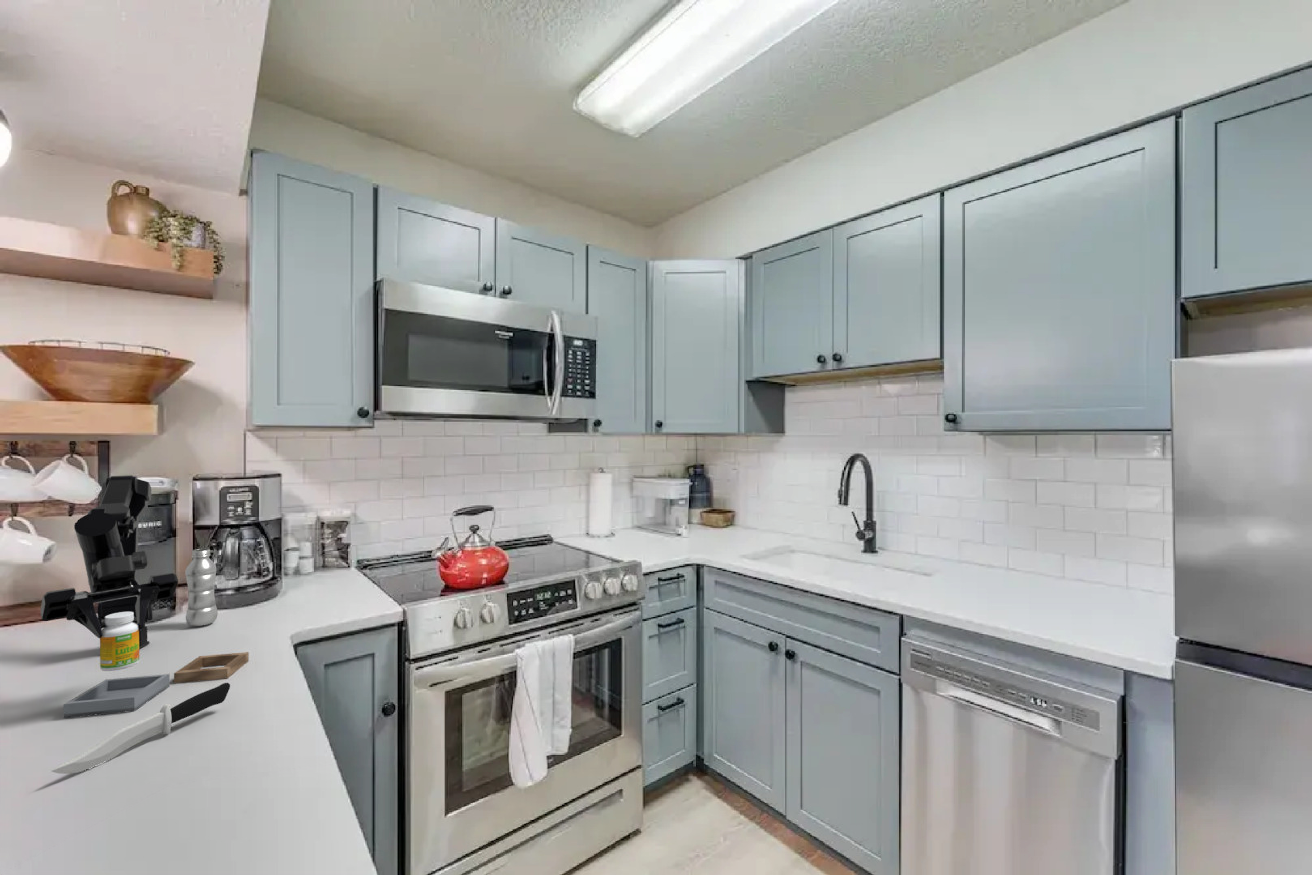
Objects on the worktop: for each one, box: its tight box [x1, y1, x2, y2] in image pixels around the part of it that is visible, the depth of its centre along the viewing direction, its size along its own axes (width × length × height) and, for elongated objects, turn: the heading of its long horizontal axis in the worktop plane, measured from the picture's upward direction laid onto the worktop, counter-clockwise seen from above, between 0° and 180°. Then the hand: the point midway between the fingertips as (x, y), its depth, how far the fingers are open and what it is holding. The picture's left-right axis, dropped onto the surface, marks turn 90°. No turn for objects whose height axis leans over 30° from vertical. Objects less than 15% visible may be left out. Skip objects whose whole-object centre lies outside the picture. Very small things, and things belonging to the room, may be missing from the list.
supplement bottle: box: [99, 612, 140, 672], centre depth 108 cm, size 5×5×10 cm
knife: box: [51, 682, 231, 775], centre depth 93 cm, size 25×2×5 cm, turn 163°
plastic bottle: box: [184, 548, 219, 627], centre depth 152 cm, size 6×7×20 cm
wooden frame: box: [173, 651, 250, 684], centre depth 121 cm, size 9×9×2 cm
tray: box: [63, 673, 171, 719], centre depth 107 cm, size 11×11×2 cm
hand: (121, 632), depth 107 cm, fingers closed on supplement bottle, 5 cm apart
